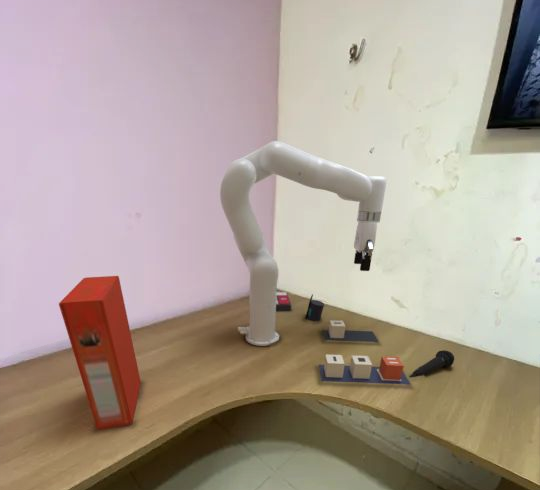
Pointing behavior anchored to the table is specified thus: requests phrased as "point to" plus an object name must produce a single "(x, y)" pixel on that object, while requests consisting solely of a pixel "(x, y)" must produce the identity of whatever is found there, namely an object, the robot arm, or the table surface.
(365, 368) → the block
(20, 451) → the table surface
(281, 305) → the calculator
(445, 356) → the microphone
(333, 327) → the block
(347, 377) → the front mat
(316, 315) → the speaker
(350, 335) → the back mat
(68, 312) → the file binder
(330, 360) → the white cube
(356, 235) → the robot arm
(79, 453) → the table surface
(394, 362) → the block
